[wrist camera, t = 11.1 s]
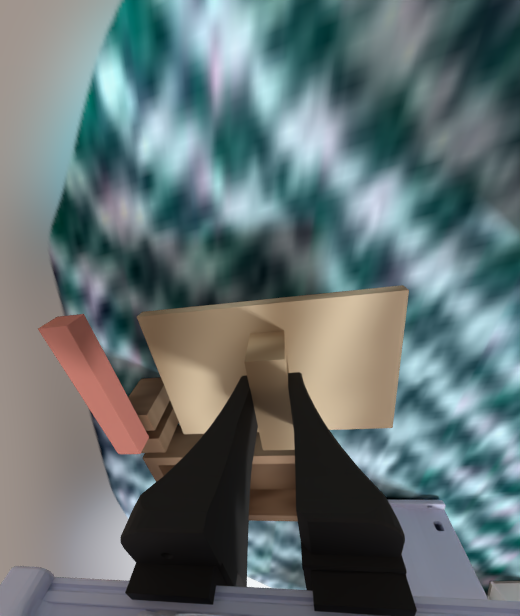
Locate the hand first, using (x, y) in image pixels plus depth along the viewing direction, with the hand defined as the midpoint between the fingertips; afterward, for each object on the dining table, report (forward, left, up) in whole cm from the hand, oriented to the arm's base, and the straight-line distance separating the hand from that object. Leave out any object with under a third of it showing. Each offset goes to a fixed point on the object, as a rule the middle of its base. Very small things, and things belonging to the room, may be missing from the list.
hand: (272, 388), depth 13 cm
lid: (0, 0, -2) cm, 2 cm away
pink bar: (+10, 0, -1) cm, 10 cm away
